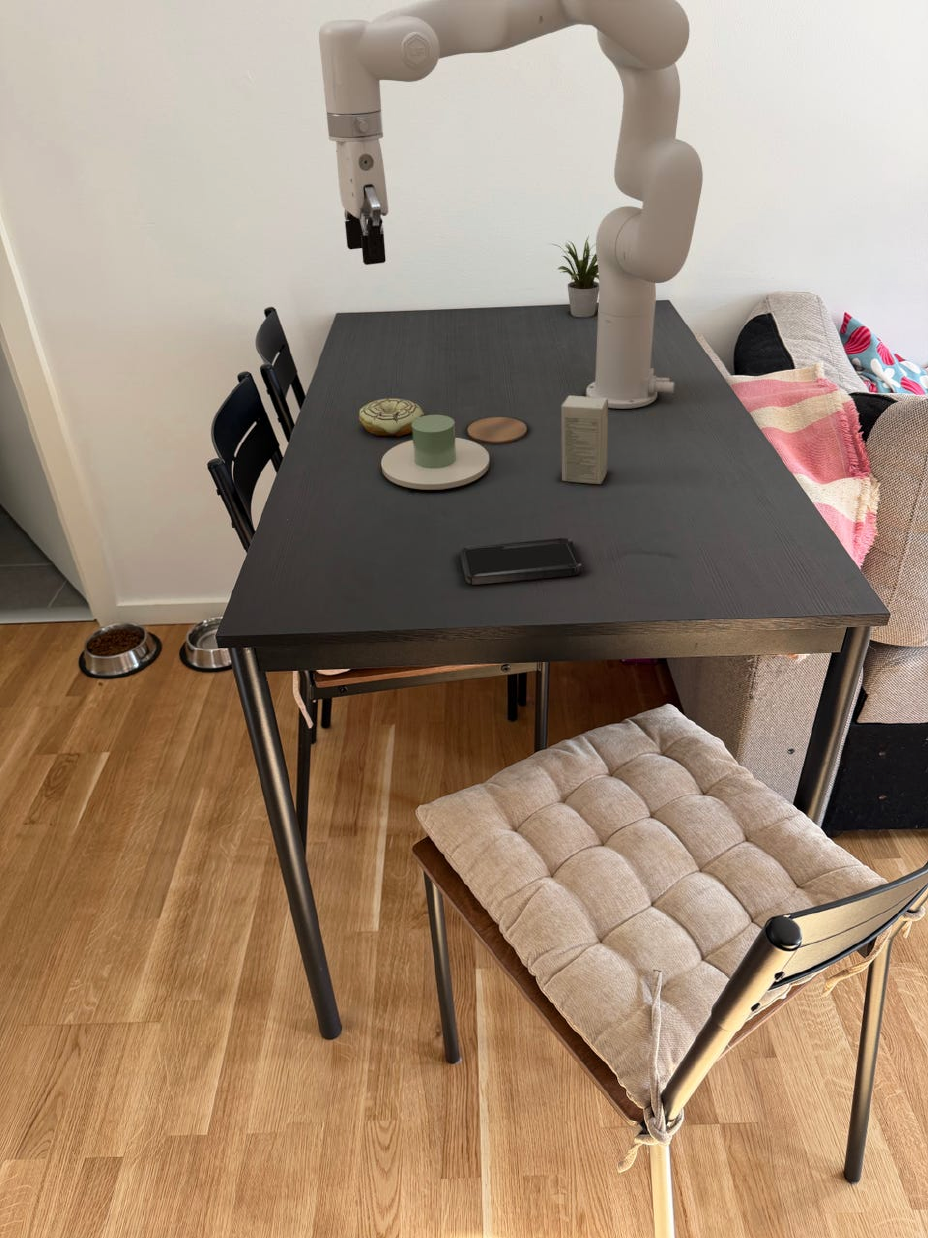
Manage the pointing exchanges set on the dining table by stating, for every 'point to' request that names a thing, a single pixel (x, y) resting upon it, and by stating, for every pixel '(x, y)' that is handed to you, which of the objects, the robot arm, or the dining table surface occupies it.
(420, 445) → the sage green cylinder
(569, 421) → the cosmetic box
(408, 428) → the decorated donut
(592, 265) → the house plant
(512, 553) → the phone
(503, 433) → the coaster
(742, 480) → the dining table surface
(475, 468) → the plate
